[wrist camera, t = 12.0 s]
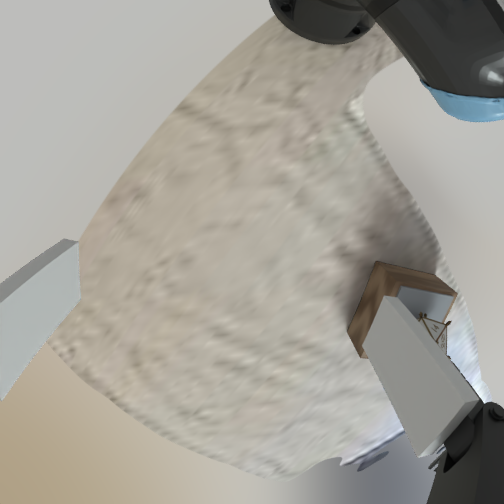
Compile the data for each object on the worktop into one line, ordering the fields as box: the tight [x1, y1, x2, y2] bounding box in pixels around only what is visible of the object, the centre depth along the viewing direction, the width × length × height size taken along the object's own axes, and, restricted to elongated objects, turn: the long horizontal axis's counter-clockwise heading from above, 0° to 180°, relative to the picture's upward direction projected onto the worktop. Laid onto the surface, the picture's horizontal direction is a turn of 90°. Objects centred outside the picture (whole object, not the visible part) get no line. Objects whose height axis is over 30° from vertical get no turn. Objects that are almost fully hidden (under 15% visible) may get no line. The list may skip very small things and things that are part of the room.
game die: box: [417, 312, 451, 359], centre depth 35 cm, size 9×8×10 cm
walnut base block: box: [347, 261, 458, 359], centre depth 42 cm, size 13×13×7 cm
